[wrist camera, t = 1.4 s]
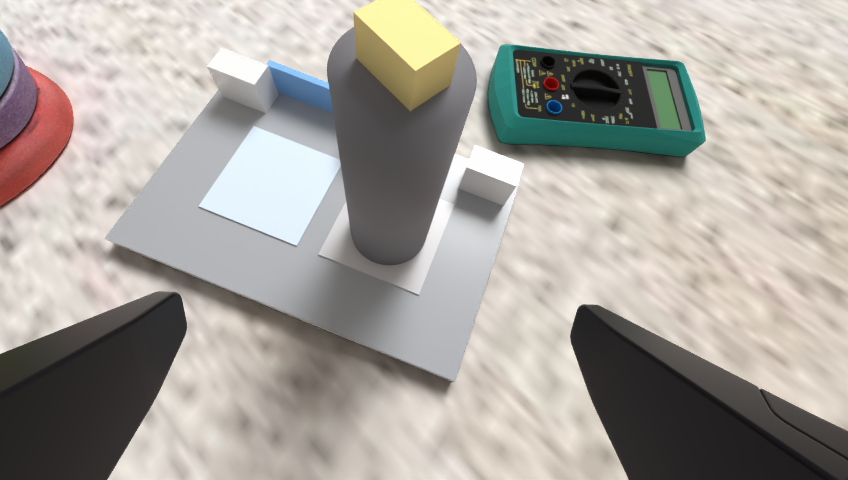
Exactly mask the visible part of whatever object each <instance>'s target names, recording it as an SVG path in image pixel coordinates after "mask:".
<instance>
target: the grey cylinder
mask: <svg viewBox="0 0 848 480" xmlns="http://www.w3.org/2000/svg"><path fill="white" fill-rule="evenodd" d="M327 76H328V83H329V90H330V97H331V103H332V110H333V117H334V123H335V130H336V137H337V143H338V150H339V157H340V163H341V170H342V177H343V183H344V190H345V197H346V203H347V210H348V217H349V223H350V230H351V236H352V240H353V242H354V245H355V246H356V248H357V249H358V251H359V252H360V253H361V254H362V255H363V256H364V257H366V258H367V259H369V260H370V261H372V262H375V263H378V264H382V265H397V264H401V263H404V262H407V261H409V260H410V259H412V258H413V257H415V256H416V255H417V254H418V253H419V252H420V250H421V249H422V247H423V246H424V243H425V241H426V238H427V235H428V232H429V229H430V226H431V223H432V220H433V217H434V214H435V211H436V208H437V205H438V202H439V199H440V196H441V193H442V190H443V187H444V184H445V181H446V178H447V175H448V172H449V169H450V166H451V163H452V160H453V157H454V154H455V151H456V148H457V145H458V142H459V139H460V137H461V134H462V131H463V128H464V125H465V122H466V119H467V116H468V113H469V110H470V107H471V104H472V101H473V98H474V95H475V91H476V83H477V78H476V71H475V67H474V64H473V62H472V59H471V57H470V56H469V54H468V52H467V51H466V50H465V48H464V47H463V46H462V45H461V42H460V41H459V40H458V39H456V38H455V37H454V36H453V35H452V34H451V33H450V32H449V31H448V30H446V29H445V28H444V27H443V26H442V25H441V24H440V23H439V22H437V21H436V20H435V19H434V18H433V17H432V16H431V15H430V14H429V13H427V12H426V11H425V10H424V9H423V8H422V7H421V6H420V5H418V4H417V3H416V2H415V1H414V0H376V1H374V2H372V3H370V4H368V5H366V6H364V7H363V8H361V9H359V10H357V11H355V12H354V27H353V28H352V29H350V30H349V31H347V32H346V33H345V34H344V35H342V37H341V38H340V39H339V40H338V41H337V42H336V44H335V45H334V47H333V48H332V51H331V53H330V55H329V59H328V64H327Z"/></svg>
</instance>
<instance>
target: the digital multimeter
mask: <svg viewBox="0 0 848 480" xmlns="http://www.w3.org/2000/svg"><path fill="white" fill-rule="evenodd" d="M571 77H572V78H571ZM615 78H616V79H617V80H616V79H615ZM619 83H620V84H619ZM623 94H624V97H623ZM488 104H489V110H490V115H491V119H492V122H493V125H494V128H495V131H496V134H497V137H498V140H499V141H500V142H502V143H505V144H544V145H559V146H579V147H593V148H604V149H616V150H628V151H637V152H645V153H653V154H661V155H670V156H678V157H685V156H687V155H688V154H690V153H691V152H692V151H694V150H695V149H696V148H698V147H699V146H700V145H701V144H703V143H704V142H705V141H706V137H705V131H704V126H703V120H702V116H701V111H700V107H699V103H698V100H697V97H696V93H695V91H694V88H693V86H692V83H691V80H690V78H689V75H688V73H687V70H686V68H685V65H684V64H683V63H682V62H679V61H670V60H657V59H644V58H632V57H621V56H610V55H599V54H588V53H580V52H571V51H562V50H554V49H545V48H536V47H528V46H520V45H502V46H500V48H499V51H498V54H497V57H496V60H495V62H494V65H493V69H492V73H491V77H490V82H489V89H488ZM557 120H558V121H557ZM569 121H570V122H569ZM581 122H582V123H581ZM592 123H594V124H592ZM604 124H607V125H604ZM616 125H619V126H616ZM629 126H631V127H629ZM641 127H643V128H641Z"/></svg>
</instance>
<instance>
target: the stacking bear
mask: <svg viewBox="0 0 848 480" xmlns="http://www.w3.org/2000/svg"><path fill="white" fill-rule="evenodd" d="M72 127H73V110H72V106H71V103H70V101H69V99H68V97H67V95H66V94H65V92H64V91H63V90H62V89H61V88H60V87H59V86H58V85H57V84H56V83H54V82H53V81H52V80H50V79H49V78H48V77H46V76H44V75H43V74H41V73H39V72H37V71H36V70H34V69H32V68H30V67H28V66H25V64H24V62H23V61H22V60H21V58H20V57H19V55H18V54H17V53H16V51H15V50H14V49H13V48H12V46H11V45H10V43H9V41H8V40H7V38H6V36H5V35H4V34H3V32H2V31H1V30H0V206H1V205H3V204H4V203H6V202H7V201H9V200H10V199H12V198H14V197H15V196H16V195H17V194H19V193H20V192H21V191H23V190H24V189H25V188H27V187H28V186H29V185H30V184H31V183H33V182H34V181H35V180H36V179H37V178H38V177H39V176H40V175H41V174H42V173H43V172H45V170H46V169H47V168H48V167H49V166H50V165H51V164H52V163H53V162H54V160H55V159H56V158H57V156H58V155H59V154H60V153H61V151H62V150H63V148H64V147H65V145H66V143H67V142H68V140H69V137H70V134H71V131H72Z"/></svg>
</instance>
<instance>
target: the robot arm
mask: <svg viewBox="0 0 848 480" xmlns="http://www.w3.org/2000/svg"><path fill="white" fill-rule="evenodd" d="M186 330H187V322H186V317H185V312H184V307H183V302H182V298H181V296H180V294H178V293H177V292H162V291H159V292H155V293H152V294H150V295H147V296H145V297H142V298H140V299H137V300H135V301H132V302H130V303H127V304H125V305H122V306H120V307H117V308H115V309H112V310H110V311H107V312H104V313H102V314H99V315H97V316H94V317H92V318H89V319H87V320H84V321H82V322H79V323H77V324H74V325H72V326H69V327H67V328H64V329H62V330H59V331H57V332H54V333H52V334H49V335H47V336H44V337H42V338H39V339H37V340H34V341H32V342H29V343H27V344H24V345H22V346H19V347H17V348H14V349H12V350H9V351H7V352H4V353H2V354H0V480H107V479H108V478H109V476H110V474H111V473H112V471H113V469H114V468H115V466H116V464H117V463H118V461H119V459H120V458H121V456H122V454H123V452H124V451H125V449H126V447H127V446H128V444H129V442H130V441H131V439H132V437H133V436H134V434H135V432H136V431H137V429H138V427H139V426H140V424H141V422H142V421H143V419H144V417H145V416H146V414H147V412H148V411H149V409H150V407H151V406H152V404H153V402H154V400H155V399H156V397H157V395H158V393H159V391H160V389H161V387H162V384H163V382H164V380H165V378H166V376H167V374H168V371H169V369H170V367H171V365H172V363H173V361H174V358H175V356H176V354H177V352H178V350H179V348H180V345H181V343H182V341H183V339H184V337H185V334H186ZM570 338H571V344H572V347H573V350H574V352H575V355H576V358H577V361H578V364H579V367H580V370H581V372H582V375H583V378H584V381H585V384H586V387H587V390H588V392H589V395H590V397H591V400H592V402H593V404H594V407H595V409H596V411H597V413H598V415H599V418H600V420H601V422H602V424H603V426H604V428H605V430H606V432H607V434H608V437H609V439H610V441H611V443H612V445H613V447H614V449H615V451H616V453H617V456H618V458H619V460H620V462H621V464H622V466H623V468H624V470H625V472H626V475H627V477H628V479H629V480H848V431H847V430H844V429H842V428H840V427H838V426H836V425H834V424H832V423H830V422H828V421H825V420H823V419H821V418H819V417H817V416H815V415H813V414H811V413H809V412H807V411H805V410H803V409H801V408H799V407H797V406H795V405H793V404H791V403H789V402H787V401H785V400H783V399H781V398H779V397H777V396H775V395H773V394H771V393H769V392H767V391H765V390H763V389H759V388H758V387H757V386H755V385H754V384H752V383H750V382H748V381H746V380H744V379H742V378H740V377H738V376H736V375H734V374H732V373H730V372H728V371H726V370H724V369H722V368H720V367H718V366H716V365H714V364H712V363H710V362H709V361H707V360H705V359H703V358H701V357H699V356H697V355H695V354H693V353H691V352H689V351H687V350H685V349H683V348H681V347H679V346H677V345H675V344H673V343H671V342H669V341H667V340H665V339H664V338H662V337H660V336H658V335H656V334H654V333H652V332H650V331H648V330H646V329H644V328H642V327H640V326H638V325H636V324H634V323H632V322H630V321H628V320H626V319H624V318H622V317H621V316H619V315H617V314H615V313H613V312H611V311H609V310H607V309H605V308H603V307H601V306H599V305H585V304H584V305H581V306H579V308H578V310H577V312H576V316H575V319H574V323H573V326H572V330H571V335H570Z"/></svg>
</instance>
